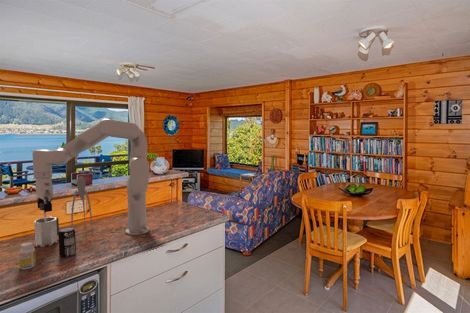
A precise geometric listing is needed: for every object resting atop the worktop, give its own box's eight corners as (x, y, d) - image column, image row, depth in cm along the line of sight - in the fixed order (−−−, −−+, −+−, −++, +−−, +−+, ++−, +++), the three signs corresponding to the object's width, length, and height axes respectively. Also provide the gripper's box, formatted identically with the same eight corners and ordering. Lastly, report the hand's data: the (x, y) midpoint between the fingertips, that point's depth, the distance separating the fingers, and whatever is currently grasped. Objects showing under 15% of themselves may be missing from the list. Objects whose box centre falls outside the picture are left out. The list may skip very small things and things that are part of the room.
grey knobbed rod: (55, 238, 144) (53, 203, 142) (41, 241, 139) (39, 205, 137) (51, 235, 148) (49, 201, 146) (37, 238, 143) (35, 203, 141)
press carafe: (46, 247, 138) (45, 223, 137) (30, 246, 140) (29, 222, 139) (65, 238, 150) (64, 216, 149) (50, 237, 151) (49, 214, 150)
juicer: (85, 231, 160) (83, 178, 157) (71, 230, 162) (69, 177, 159) (98, 225, 170) (96, 175, 167) (84, 224, 172) (82, 174, 169)
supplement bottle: (26, 270, 116) (24, 247, 115) (17, 268, 118) (15, 245, 117) (39, 264, 121) (38, 242, 120) (30, 262, 123) (29, 240, 122)
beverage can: (63, 252, 134) (62, 226, 133) (78, 251, 134) (77, 226, 133) (56, 258, 127) (55, 231, 126) (72, 257, 128) (70, 231, 127)
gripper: (58, 176, 138) (59, 211, 139) (46, 172, 149) (47, 205, 150) (39, 178, 132) (41, 214, 134) (28, 174, 143) (30, 207, 145)
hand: (44, 209), depth 142 cm, fingers open, 9 cm apart
